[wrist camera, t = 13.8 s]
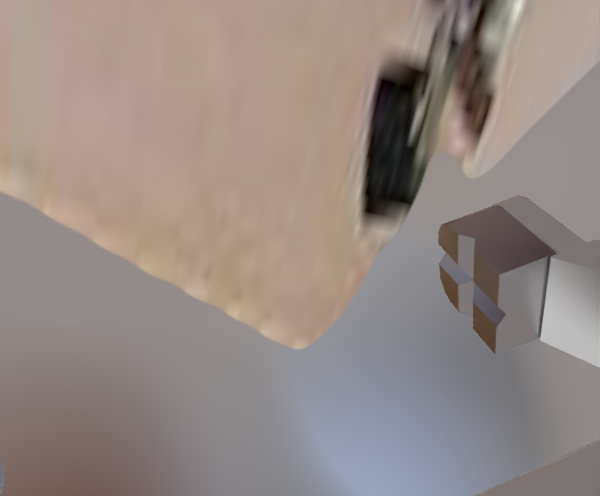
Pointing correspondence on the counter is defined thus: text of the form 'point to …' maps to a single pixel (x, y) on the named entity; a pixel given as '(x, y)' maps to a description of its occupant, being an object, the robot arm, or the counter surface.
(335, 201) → the counter surface
